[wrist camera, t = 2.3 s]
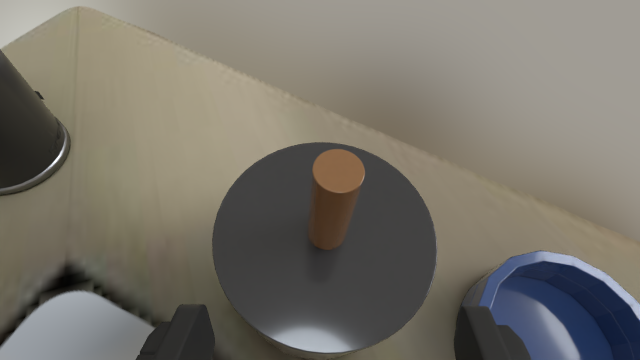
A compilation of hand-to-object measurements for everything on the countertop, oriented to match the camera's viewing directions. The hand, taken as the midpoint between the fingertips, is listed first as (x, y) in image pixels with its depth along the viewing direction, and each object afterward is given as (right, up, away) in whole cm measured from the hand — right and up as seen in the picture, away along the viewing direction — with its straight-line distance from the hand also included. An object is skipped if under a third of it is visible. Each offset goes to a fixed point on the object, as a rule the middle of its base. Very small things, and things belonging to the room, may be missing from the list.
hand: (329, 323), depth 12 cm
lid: (0, +1, +13) cm, 13 cm away
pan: (+17, -9, +18) cm, 27 cm away
